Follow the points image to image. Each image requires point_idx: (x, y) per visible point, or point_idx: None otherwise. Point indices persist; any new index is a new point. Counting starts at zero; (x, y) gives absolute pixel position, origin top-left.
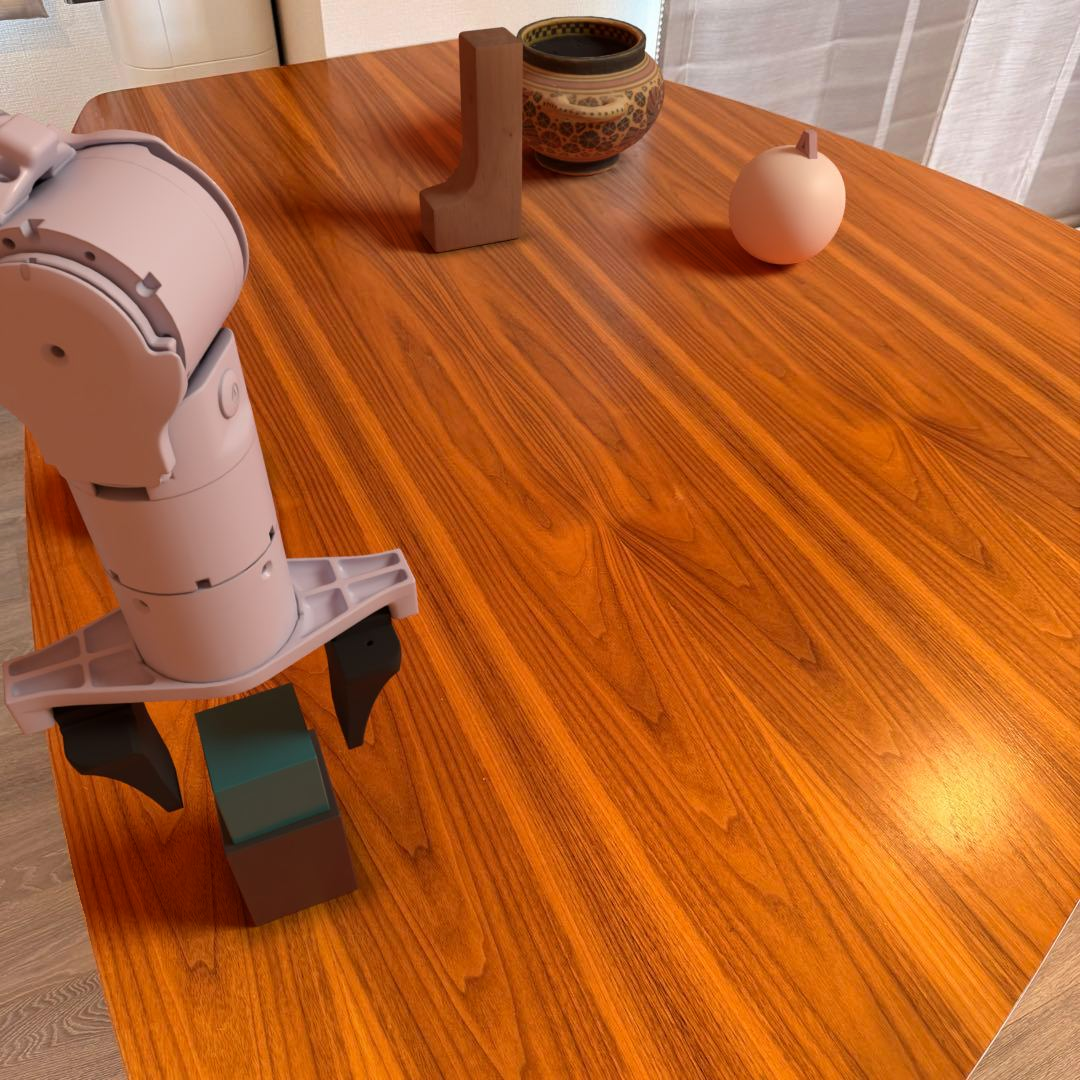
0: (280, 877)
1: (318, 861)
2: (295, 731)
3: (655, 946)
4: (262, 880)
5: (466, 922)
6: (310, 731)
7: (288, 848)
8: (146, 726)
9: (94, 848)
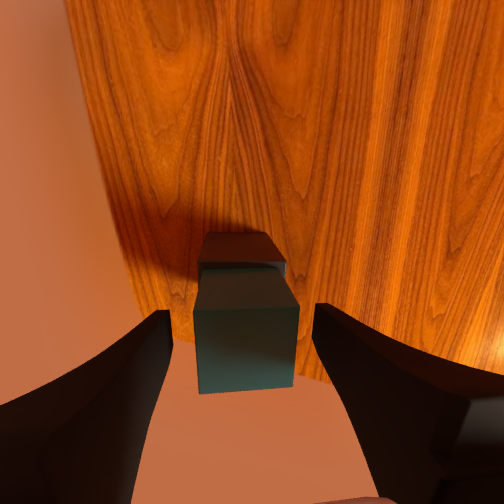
0: None
1: None
2: (284, 360)
3: None
4: None
5: (305, 317)
6: (282, 263)
7: None
8: (130, 420)
9: (117, 203)
